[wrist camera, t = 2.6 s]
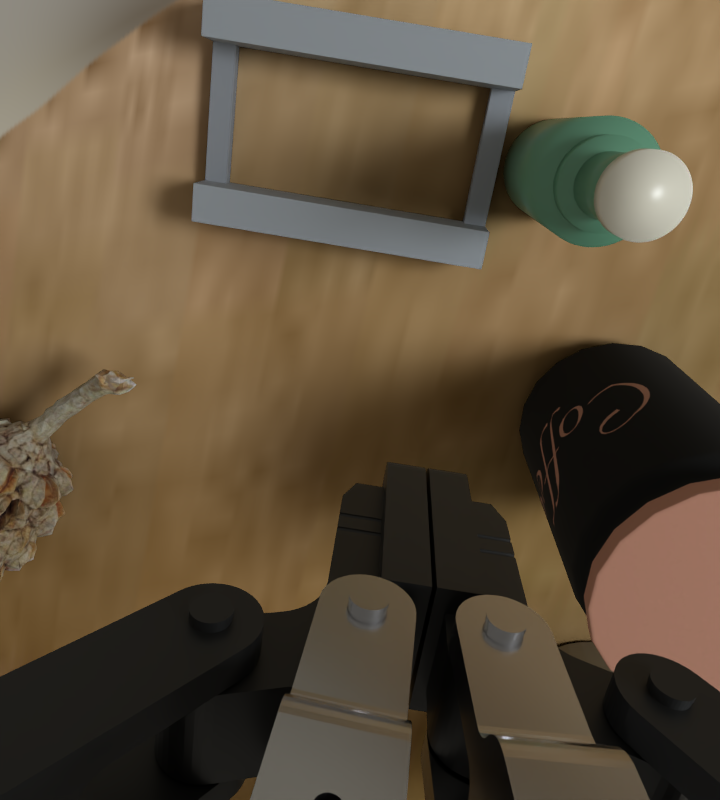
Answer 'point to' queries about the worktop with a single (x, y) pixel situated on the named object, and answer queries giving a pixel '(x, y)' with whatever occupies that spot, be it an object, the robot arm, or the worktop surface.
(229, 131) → the cradle
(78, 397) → the pine cone
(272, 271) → the worktop surface
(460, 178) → the worktop surface
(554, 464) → the coffee jar
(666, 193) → the bottle
